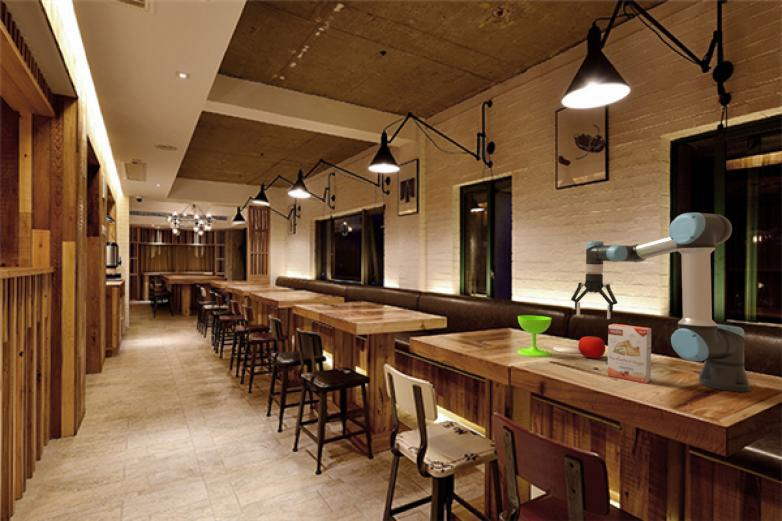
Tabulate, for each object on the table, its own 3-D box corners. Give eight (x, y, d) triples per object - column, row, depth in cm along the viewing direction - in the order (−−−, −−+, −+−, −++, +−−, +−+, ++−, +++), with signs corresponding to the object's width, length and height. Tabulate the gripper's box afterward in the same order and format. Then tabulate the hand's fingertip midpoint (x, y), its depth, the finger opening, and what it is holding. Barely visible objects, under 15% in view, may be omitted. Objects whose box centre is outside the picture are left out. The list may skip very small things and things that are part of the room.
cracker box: (607, 376, 166) (607, 324, 166) (612, 373, 170) (613, 323, 170) (646, 384, 156) (647, 329, 156) (651, 381, 160) (651, 327, 160)
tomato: (609, 357, 198) (609, 336, 198) (597, 361, 191) (598, 339, 191) (585, 353, 207) (586, 332, 207) (574, 357, 199) (574, 335, 199)
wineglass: (556, 353, 206) (556, 317, 206) (542, 358, 195) (543, 320, 195) (525, 348, 217) (526, 314, 217) (511, 353, 206) (512, 317, 206)
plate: (581, 355, 203) (581, 353, 203) (548, 350, 213) (548, 348, 213) (590, 350, 215) (590, 348, 215) (558, 345, 225) (558, 344, 225)
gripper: (625, 274, 193) (624, 319, 193) (569, 272, 209) (568, 313, 210) (621, 274, 187) (620, 321, 188) (564, 272, 204) (563, 315, 204)
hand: (593, 317), depth 199 cm, fingers open, 13 cm apart
